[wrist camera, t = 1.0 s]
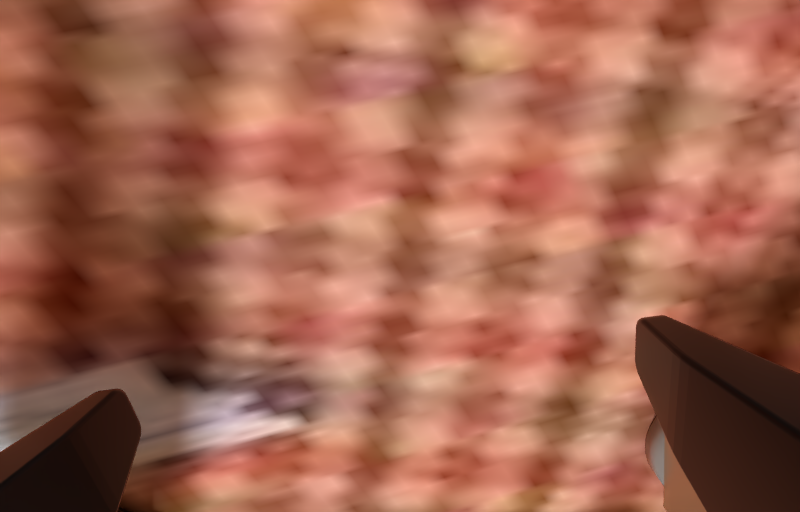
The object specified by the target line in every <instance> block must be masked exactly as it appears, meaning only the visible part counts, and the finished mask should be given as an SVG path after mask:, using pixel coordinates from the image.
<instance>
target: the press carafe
mask: <svg viewBox="0 0 800 512" xmlns="http://www.w3.org/2000/svg"><path fill="white" fill-rule="evenodd" d="M645 453H646V458H647V461H648V463H649V465H650V467H651V468H652V470H653V471H654V472H655V474H656V475H657V477H658V478H659V480H660V481H661V483H662V484H663V485H664V503H663V506H664V508H665V509H666V511H667V512H706V510H705V508H704V507H703V505H702V503H701V501H700V500H699V498H698V496H697V494H696V493H695V491H694V489H693V487H692V486H691V484H690V482H689V481H688V479H687V477H686V475H685V474H684V472H683V470H682V468H681V467H680V465H679V463H678V461H677V459H676V457H675V456H674V454H673V452H672V450H671V448H670V445H669V443H668V441H667V439H666V437H665V434H664V432H663V430H662V427H661V425H660V423H659V420H658V418H657V417H656V418H655V419H654V421H653V423H652V424H651V426H650V428H649V431H648V433H647V437H646V442H645Z"/></svg>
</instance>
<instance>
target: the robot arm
mask: <svg viewBox="0 0 800 512" xmlns="http://www.w3.org/2000/svg"><path fill="white" fill-rule="evenodd" d="M635 363H636V368H637V372H638V374H639V377H640V379H641V381H642V384H643V386H644V388H645V390H646V393H647V395H648V397H649V400H650V402H651V404H652V407H653V409H654V411H655V413H656V416H657V418H658V420H659V423H660V425H661V427H662V430H663V432H664V434H665V437H666V439H667V441H668V443H669V445H670V448H671V450H672V452H673V454H674V456H675V457H676V459H677V461H678V463H679V465H680V467H681V468H682V470H683V472H684V474H685V475H686V477H687V479H688V481H689V482H690V484H691V486H692V487H693V489H694V491H695V493H696V494H697V496H698V498H699V500H700V501H701V503H702V505H703V507H704V508H705V510H706V512H800V374H799V373H797V372H794V371H792V370H790V369H787V368H785V367H783V366H780V365H778V364H776V363H773V362H771V361H769V360H767V359H764V358H762V357H760V356H757V355H755V354H753V353H750V352H748V351H746V350H743V349H741V348H739V347H736V346H734V345H732V344H730V343H727V342H725V341H723V340H720V339H718V338H716V337H713V336H711V335H709V334H706V333H704V332H702V331H699V330H697V329H695V328H693V327H690V326H688V325H686V324H683V323H681V322H679V321H676V320H674V319H672V318H669V317H667V316H663V315H660V316H653V317H646V318H641V319H639V320H638V322H637V325H636V345H635ZM140 436H141V425H140V422H139V420H138V418H137V416H136V413H135V411H134V409H133V407H132V405H131V403H130V401H129V399H128V397H127V395H126V393H125V392H124V391H123V390H120V389H111V390H103V391H98V392H95V393H93V394H92V395H90V396H89V397H87V398H85V399H84V400H82V401H81V402H79V403H77V404H76V405H74V406H73V407H71V408H70V409H68V410H66V411H65V412H63V413H62V414H60V415H58V416H57V417H55V418H54V419H52V420H50V421H49V422H47V423H46V424H44V425H42V426H41V427H39V428H38V429H36V430H35V431H33V432H31V433H30V434H28V435H27V436H25V437H23V438H22V439H20V440H19V441H17V442H15V443H14V444H12V445H11V446H9V447H8V448H6V449H4V450H3V451H1V452H0V512H129V511H127V510H125V509H122V508H120V507H119V505H120V502H121V498H122V495H123V492H124V489H125V486H126V482H127V479H128V476H129V473H130V469H131V466H132V463H133V460H134V456H135V453H136V450H137V447H138V444H139V440H140Z"/></svg>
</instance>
